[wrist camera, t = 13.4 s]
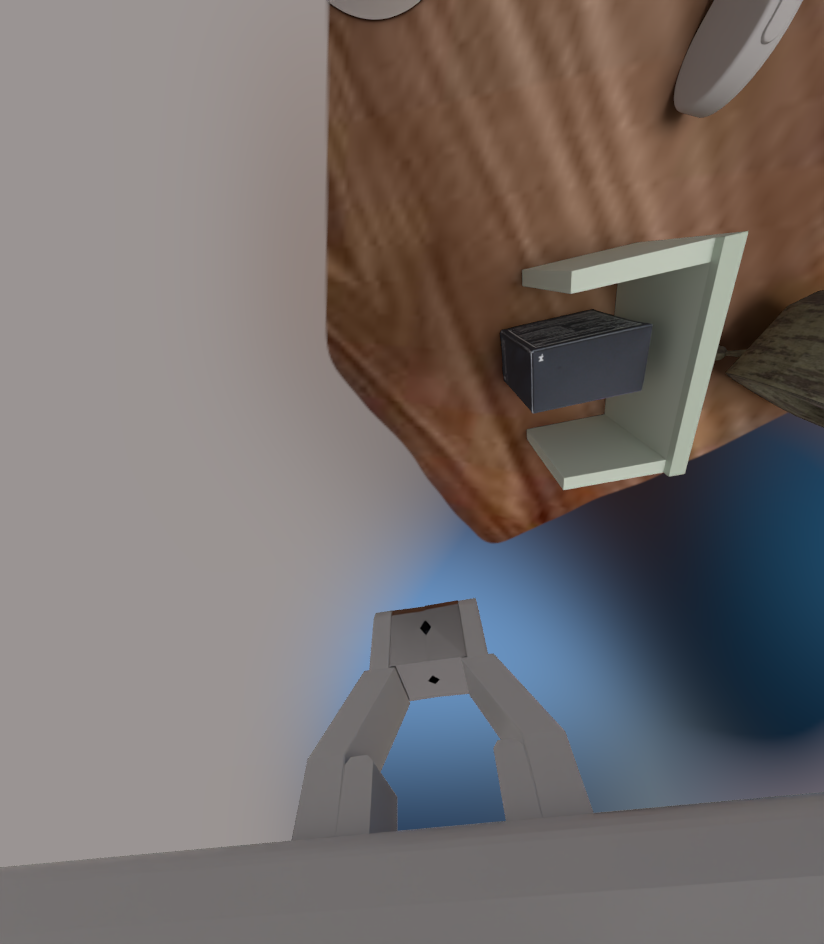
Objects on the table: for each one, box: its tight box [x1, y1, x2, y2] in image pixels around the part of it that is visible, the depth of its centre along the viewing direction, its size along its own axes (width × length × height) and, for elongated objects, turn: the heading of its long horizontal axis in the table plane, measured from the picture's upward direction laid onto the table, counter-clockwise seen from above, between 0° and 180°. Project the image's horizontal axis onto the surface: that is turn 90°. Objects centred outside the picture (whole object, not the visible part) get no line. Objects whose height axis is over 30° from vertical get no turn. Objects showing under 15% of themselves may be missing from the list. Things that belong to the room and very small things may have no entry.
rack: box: [522, 231, 748, 490], centre depth 34 cm, size 20×12×13 cm, turn 12°
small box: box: [500, 309, 653, 413], centre depth 35 cm, size 11×6×10 cm, turn 102°
